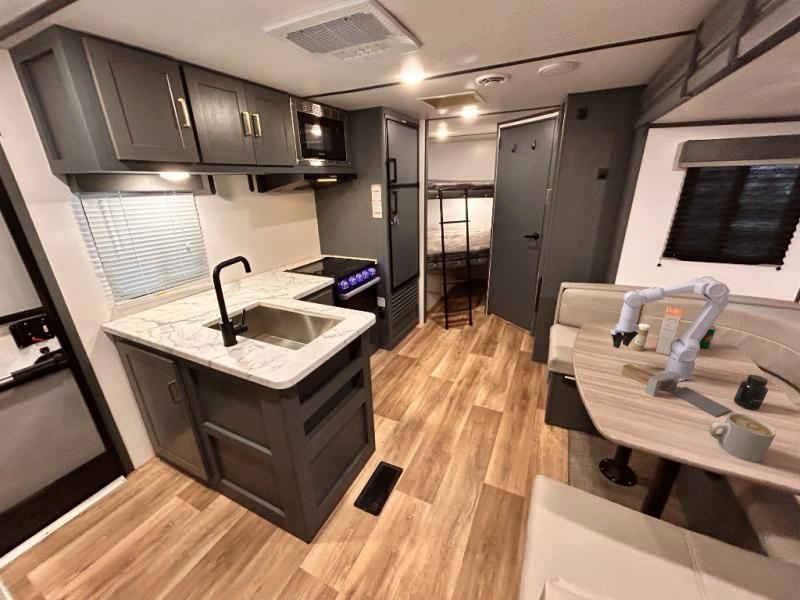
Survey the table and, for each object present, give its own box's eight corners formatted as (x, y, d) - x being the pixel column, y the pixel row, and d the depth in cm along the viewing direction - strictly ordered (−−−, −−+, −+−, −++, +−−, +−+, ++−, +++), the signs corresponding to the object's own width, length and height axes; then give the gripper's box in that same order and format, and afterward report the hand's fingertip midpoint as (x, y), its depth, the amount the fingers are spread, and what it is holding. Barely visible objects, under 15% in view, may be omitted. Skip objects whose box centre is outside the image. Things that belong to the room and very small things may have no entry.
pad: (685, 387, 127) (685, 386, 127) (731, 411, 114) (732, 410, 114) (669, 392, 125) (670, 391, 125) (715, 416, 111) (715, 415, 111)
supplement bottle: (755, 413, 113) (768, 385, 109) (729, 402, 119) (741, 375, 114) (762, 407, 116) (775, 380, 112) (737, 397, 122) (748, 370, 117)
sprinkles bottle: (644, 349, 157) (651, 325, 152) (641, 352, 155) (648, 327, 150) (634, 346, 161) (641, 322, 156) (630, 348, 158) (637, 324, 154)
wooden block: (626, 371, 140) (628, 362, 138) (663, 387, 128) (666, 378, 126) (621, 374, 137) (623, 365, 136) (658, 391, 126) (661, 381, 124)
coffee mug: (756, 445, 99) (768, 420, 96) (768, 467, 91) (782, 441, 88) (700, 429, 106) (710, 405, 103) (707, 448, 98) (717, 423, 95)
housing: (667, 385, 129) (672, 371, 127) (675, 389, 126) (680, 375, 124) (645, 391, 125) (649, 377, 123) (652, 396, 123) (657, 381, 120)
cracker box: (656, 342, 164) (667, 305, 157) (671, 345, 161) (683, 308, 153) (653, 352, 155) (665, 313, 147) (669, 356, 151) (682, 316, 144)
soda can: (696, 343, 162) (703, 322, 158) (709, 346, 159) (717, 325, 155) (694, 346, 159) (702, 325, 155) (708, 350, 156) (716, 328, 152)
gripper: (631, 313, 141) (624, 339, 145) (606, 317, 137) (600, 344, 141) (647, 318, 134) (639, 346, 139) (622, 323, 130) (614, 352, 135)
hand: (620, 346), depth 140 cm, fingers open, 5 cm apart
